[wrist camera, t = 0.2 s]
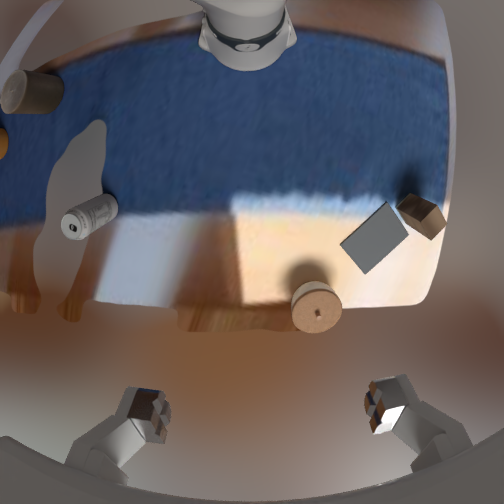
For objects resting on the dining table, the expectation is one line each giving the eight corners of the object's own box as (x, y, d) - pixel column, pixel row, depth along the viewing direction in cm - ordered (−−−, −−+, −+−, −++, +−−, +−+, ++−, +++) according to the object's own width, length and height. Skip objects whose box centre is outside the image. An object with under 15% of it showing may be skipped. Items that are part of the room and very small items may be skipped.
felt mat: (386, 202, 54) (387, 202, 54) (408, 234, 57) (408, 234, 56) (339, 244, 58) (340, 245, 58) (364, 273, 61) (365, 274, 60)
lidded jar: (278, 293, 62) (281, 317, 54) (316, 264, 60) (325, 285, 51) (306, 320, 65) (312, 346, 57) (342, 294, 63) (353, 317, 54)
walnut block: (409, 192, 53) (437, 205, 43) (420, 209, 54) (447, 224, 44) (395, 207, 54) (420, 222, 44) (405, 223, 56) (431, 240, 46)
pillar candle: (67, 100, 45) (25, 96, 31) (40, 121, 46) (-2, 122, 32) (61, 68, 42) (21, 59, 28) (34, 89, 43) (-6, 86, 29)
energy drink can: (100, 188, 53) (61, 205, 39) (122, 198, 54) (86, 217, 40) (94, 213, 55) (57, 235, 42) (116, 223, 56) (81, 248, 42)
